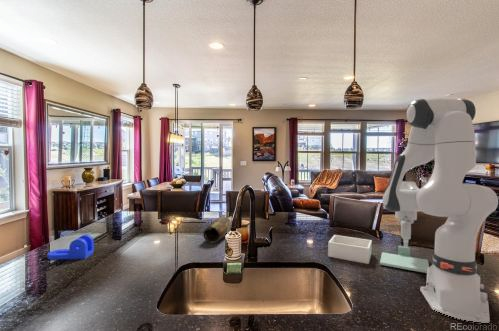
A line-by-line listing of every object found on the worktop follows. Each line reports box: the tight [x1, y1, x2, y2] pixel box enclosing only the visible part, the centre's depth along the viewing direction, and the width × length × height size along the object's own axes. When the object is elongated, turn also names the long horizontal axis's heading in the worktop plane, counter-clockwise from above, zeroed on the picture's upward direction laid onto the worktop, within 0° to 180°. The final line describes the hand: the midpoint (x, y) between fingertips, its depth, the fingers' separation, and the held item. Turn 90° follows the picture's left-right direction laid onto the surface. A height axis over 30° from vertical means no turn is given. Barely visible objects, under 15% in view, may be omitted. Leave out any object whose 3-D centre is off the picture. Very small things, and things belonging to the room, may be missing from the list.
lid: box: [379, 245, 430, 274], centre depth 123 cm, size 18×19×5 cm
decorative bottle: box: [202, 213, 234, 245], centre depth 168 cm, size 11×11×45 cm
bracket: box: [47, 234, 95, 261], centre depth 128 cm, size 18×8×9 cm, turn 96°
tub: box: [327, 234, 373, 265], centre depth 132 cm, size 14×18×7 cm
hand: (405, 244), depth 128 cm, fingers open, 8 cm apart
